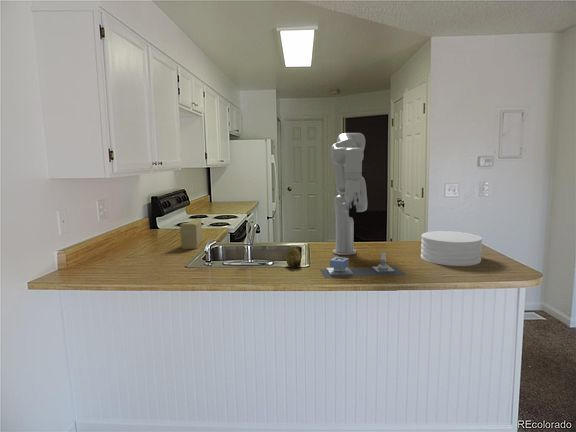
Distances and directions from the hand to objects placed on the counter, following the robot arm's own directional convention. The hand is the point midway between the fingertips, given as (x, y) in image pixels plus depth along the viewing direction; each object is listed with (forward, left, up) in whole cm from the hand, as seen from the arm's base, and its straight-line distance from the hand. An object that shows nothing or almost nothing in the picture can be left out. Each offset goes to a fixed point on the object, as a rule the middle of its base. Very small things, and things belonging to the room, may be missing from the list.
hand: (352, 216), depth 181 cm
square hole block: (+6, -7, -21) cm, 23 cm away
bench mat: (+7, +3, -24) cm, 25 cm away
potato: (-9, -26, -25) cm, 37 cm away
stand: (+6, +13, -24) cm, 28 cm away
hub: (+6, -7, -24) cm, 26 cm away
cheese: (-65, -80, -25) cm, 106 cm away
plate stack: (-11, +53, -25) cm, 59 cm away
